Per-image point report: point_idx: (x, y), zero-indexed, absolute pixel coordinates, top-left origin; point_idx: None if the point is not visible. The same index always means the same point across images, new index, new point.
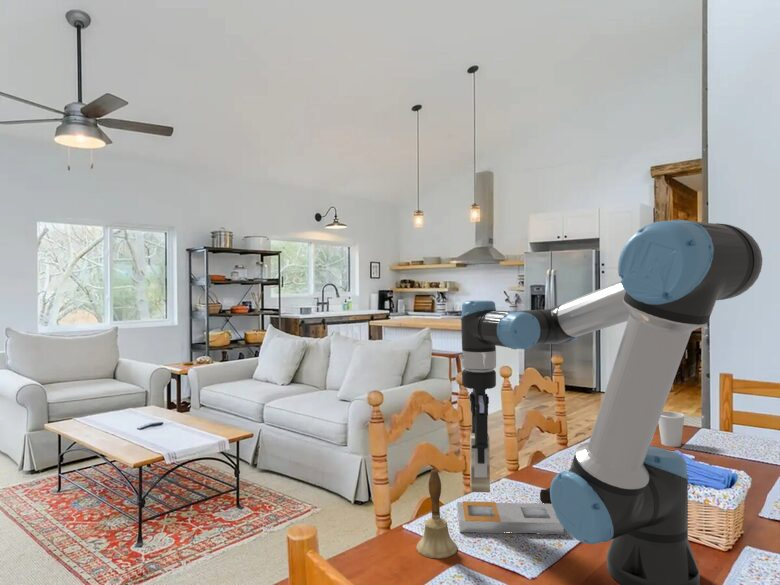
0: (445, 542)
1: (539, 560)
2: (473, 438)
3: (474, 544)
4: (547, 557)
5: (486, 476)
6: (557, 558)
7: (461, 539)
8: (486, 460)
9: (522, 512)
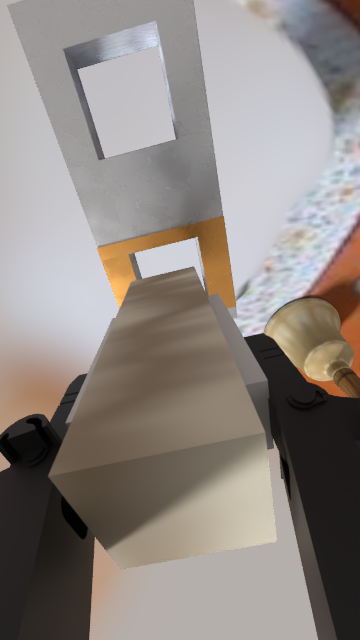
0: (334, 324)
1: (350, 89)
2: (273, 528)
3: (278, 268)
4: (334, 61)
5: (218, 297)
6: (340, 22)
7: (260, 297)
8: (239, 331)
9: (100, 154)
